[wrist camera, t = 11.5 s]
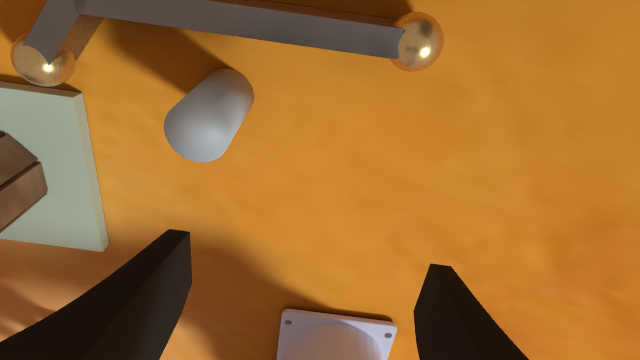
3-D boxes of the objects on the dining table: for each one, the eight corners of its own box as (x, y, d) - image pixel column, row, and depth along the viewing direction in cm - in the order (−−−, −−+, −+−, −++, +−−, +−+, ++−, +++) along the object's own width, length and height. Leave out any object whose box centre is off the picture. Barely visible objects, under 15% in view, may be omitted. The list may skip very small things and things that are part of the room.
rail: (412, 123, 20) (421, 147, 18) (45, 72, 20) (4, 89, 18) (442, 7, 18) (458, 16, 15) (17, -56, 17) (-36, -56, 15)
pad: (108, 243, 25) (102, 252, 25) (-50, 223, 25) (-61, 230, 25) (82, 92, 20) (73, 97, 20) (-116, 65, 20) (-132, 69, 20)
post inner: (252, 121, 21) (229, 166, 16) (202, 114, 21) (166, 157, 16) (254, 72, 20) (229, 106, 15) (202, 64, 19) (162, 97, 15)
